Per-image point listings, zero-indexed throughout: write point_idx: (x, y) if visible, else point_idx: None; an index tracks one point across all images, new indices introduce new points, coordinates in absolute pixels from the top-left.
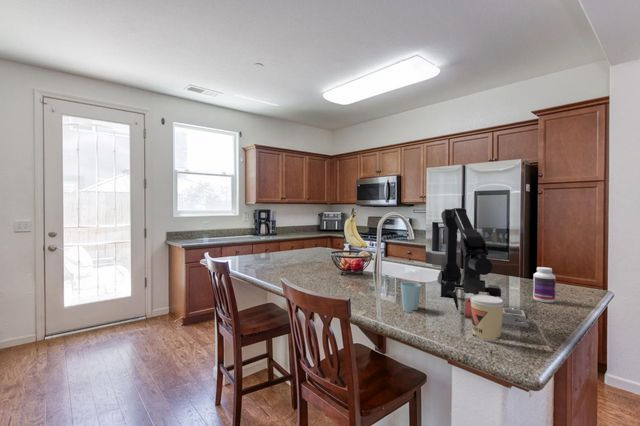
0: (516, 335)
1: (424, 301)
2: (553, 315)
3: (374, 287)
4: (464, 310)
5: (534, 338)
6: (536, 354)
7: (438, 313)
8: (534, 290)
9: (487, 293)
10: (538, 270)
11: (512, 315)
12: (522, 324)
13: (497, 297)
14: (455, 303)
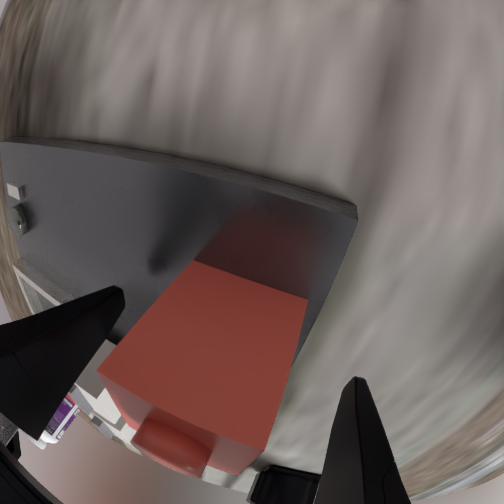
0: (50, 27)
1: (414, 461)
2: (24, 310)
3: (473, 482)
4: None
5: (17, 43)
6: None
7: (471, 361)
8: (68, 413)
9: (19, 427)
10: (38, 441)
11: (40, 281)
12: (10, 170)
13: (90, 416)
14: (382, 439)
